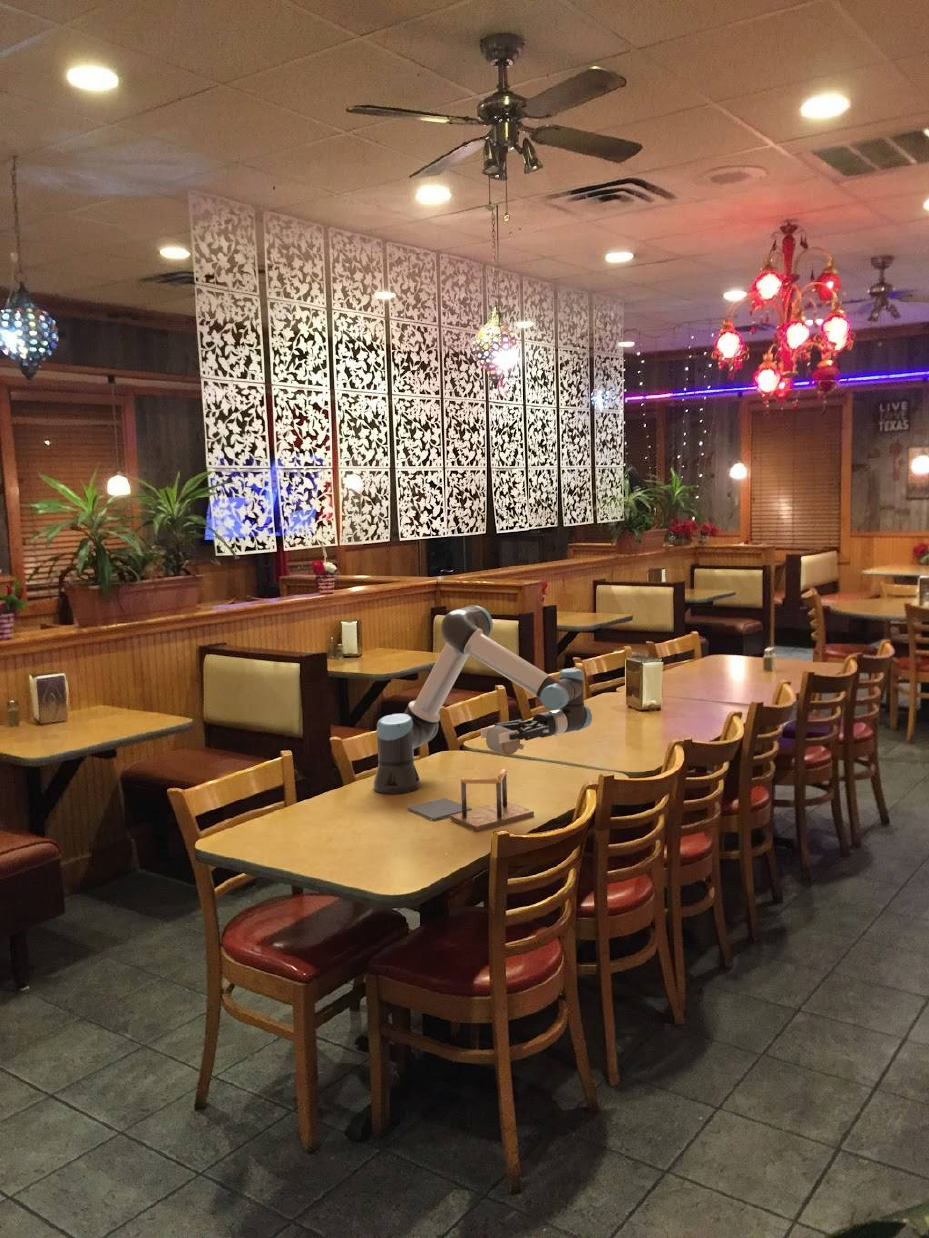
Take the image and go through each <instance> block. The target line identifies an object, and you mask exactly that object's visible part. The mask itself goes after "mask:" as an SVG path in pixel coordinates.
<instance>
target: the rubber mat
mask: <svg viewBox="0 0 929 1238" xmlns="http://www.w3.org/2000/svg"><path fill="white" fill-rule="evenodd" d="M410 810H411V811H410ZM470 810H473V808H471V807H469V806H467V811H470ZM407 811H410V812H412V811H413V812H412V813H414V812H415V814H416V813H417V815H419V816H421V817H424V818H426V819H428V820H430V819H432V820H435V821H437V820H436V819H439V820H443V819H447V818H450V815H454V814H458V813H462V803H459V802H458V801H454V800H451V799H449V798H446V797H443V798H439V799H437V800H432V801H427V802H423V803H419V804H414V805H411V806H407ZM432 820H431V821H432Z"/></svg>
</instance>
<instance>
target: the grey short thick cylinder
mask: <svg viewBox="0 0 929 1238" xmlns="http://www.w3.org/2000/svg"><path fill="white" fill-rule="evenodd" d="M492 726H493V727H492ZM492 726H491V727H492V728H491V729H490V730H489V731H488V733H487V736H486V738H485V742H486V746H487V748H488V749H489V750H491V751H493V752H496V753H500V754H504V755H513V754H515V753H516V752H517V751H518V750H521V751H523V750H524V747H525V745H524V744H522V743H521V740H519V739H518V740H514V741H510V742H505V743H499V734H501V733H506V732H510V731H512V730H509V729H507V728H504V727H502V726H499V725H497V726H495V725H492Z"/></svg>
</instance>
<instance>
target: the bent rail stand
mask: <svg viewBox="0 0 929 1238" xmlns="http://www.w3.org/2000/svg"><path fill="white" fill-rule="evenodd" d="M507 772H508V771H507V769H506V768H502V769H501V771H500V772H499V774H498V775H497V778H488V777H487V778H485V777H484V778H478V777H477V778H475V777H474V778H470V777H469V778H464V777H462V778H461V779H460V785H461V786H460V790H461V791H460V792H461V795H460V796H461V804H462V813H458V814H454V815H450V817H449V820H452V821H451V822H453V821H454V822H453V823H456V824H458V825H460V826H463V827H465V828H468V829H469V830H471V829H473V830H472V831H474V830H475V831H474V832H476V831H478V832H480V830H481V831H484V830H483V829H485V830H487V829H493V828H496V827H500V826H502V825H503V826H504V825H506V824H510V823H514V822H517V821H522V820H524V819H528V818H532V817H534V816H535V811H534V810H532V809H529V808H526V807H524V806H520V805H518V804H515V803H512V802H510V801H508V788H507V787H508V785H507ZM467 784H468V785H469V784H473V785H474V784H475V785H477V784H478V785H479V784H481V785H482V784H483V785H484V784H486V785H490V784H491V785H492V784H493V785H495V786H496V787H495V790H496V795H495V796H496V803H494V804H490V805H486V806H481V807H478V808H473V809H472V810H470V811H467V807H468V806H467V804H468V803H467Z"/></svg>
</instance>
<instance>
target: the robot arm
mask: <svg viewBox="0 0 929 1238" xmlns="http://www.w3.org/2000/svg"><path fill="white" fill-rule="evenodd" d="M493 626H494V623H493V618H492V616H491V614H490V613H489V611H488V610H487V609H485V608H484V607H482V606H479V605H467V606H464V607H462V608H458V609H453V610H451V611H449V612H448V613H447V614H445V616H444V617H443V619H442V621H441V625H440V633H441V636H442V638H443V640H444V641H445V643H444V644H445V645H444V647H443V648H442V649H441V652H440V654H439V656H438V657H437V659H436V661H435V664H434V665H433V667H432V669H431V670H430V673H429V675H428V677H427V678H426V680H425V683H424V684H423V686H422V687H421V690H420V692H419V694H418V695H417V697H416V699H415V700H412V701H410V702H409V703H408V705H407V707H406V709H405V711H404V712H403V713H392V714H387V715H385V716H383V717H381V718H380V719H378V721H377V724H376V743H377V757H378V758H377V761H378V764H377V765H378V766H377V770H376V773H375V777H374V781H373V789H374V790H375V791H376V792H378V793H381V794H389V795H390V794H391V795H399V794H407V793H412V792H414V791H417V790H419V788H420V787H421V783H420V782H421V780H420V777H419V774H418V771H417V769H416V764H415V760H414V759H415V756H414V750H415V749H417V748H419V747H420V746H423V745H426V744H428V743H429V742H430V741H432V740H434V738H435V737H436V735H437V733H438V730H439V722H440V719H441V715H440V710H441V708H442V706H443V705H444V703H445V701H446V699H447V697H448V695H449V694H450V691H451V690H452V688H453V686H454V685H455V682H456V680H457V679H458V676H459V675H460V673H461V671H462V669H463V667H464V665H465V664H466V661H467V660H468V659H469V656H472V657H473V658H475V659H476V660H478V661H479V662H481V663H483V664H484V665H486V666H487V667H489V668H491V669H492V670H493V671H495V672H497V673H498V674H501V675H502V676H503V677H505V678H507V679H508V680H509V681H511V682H513V683H514V684H516V685H517V686H519V687H520V688H522V689H523V690H525V691H527V692H529V693H530V694H532V695H534V696H535V697H537V698H539V700H540V702H541V704H542V705H543V707H545V708H546V709H547V710H548V711H543V712H539V713H536V714H535V715H534V716H533V718H532V719H526V720H523V719H521V718H519V719H516V720H509V721H503V722H502V721H501V722H496V723H494V725H492V726H487V727H484V728H480V738H481V739H484V738H485V739H486V736H487V733H488V731H489V730H490V729H491V728H492V727H493V726H497V725H499V726H502V727H504V728H507V729H509V730H512V731H510V732H506V733H501V734H499V743H505V742H510V741H514V740H518V739H519V740H520V741H521V740H524V741H527V742H528V741H530V740H533V739H537V738H541V739H543V738H544V739H545V738H548V737H552V736H555V737H558V735H561V734H565V733H569V732H570V733H571V732H575V731H580V730H583V729H587V728H588V727H590V726H591V724H592V721H593V713H591V709H590V707H588V706H587V705H586V704H585V684H584V683H585V679H584V672H583V671H584V670H581V669H580V668H564V669H561V670H559V677H558V680H557V679H556V678H554V677H552V676H551V675H549V674H548V673H546V672H545V671H543V670H542V669H540V668H538V667H537V666H536V665H533V664H532V663H530V662H529V661H527V660H526V659H524V658H522V657H521V656H519V655H517V654H516V653H514V652H512V651H511V650H510V649H508V648H506V647H505V646H502V645H501V644H499V643H498V642H496V641H495V640H493V639H491V637H489V636H490V635H491V633H492V631H493Z"/></svg>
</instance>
